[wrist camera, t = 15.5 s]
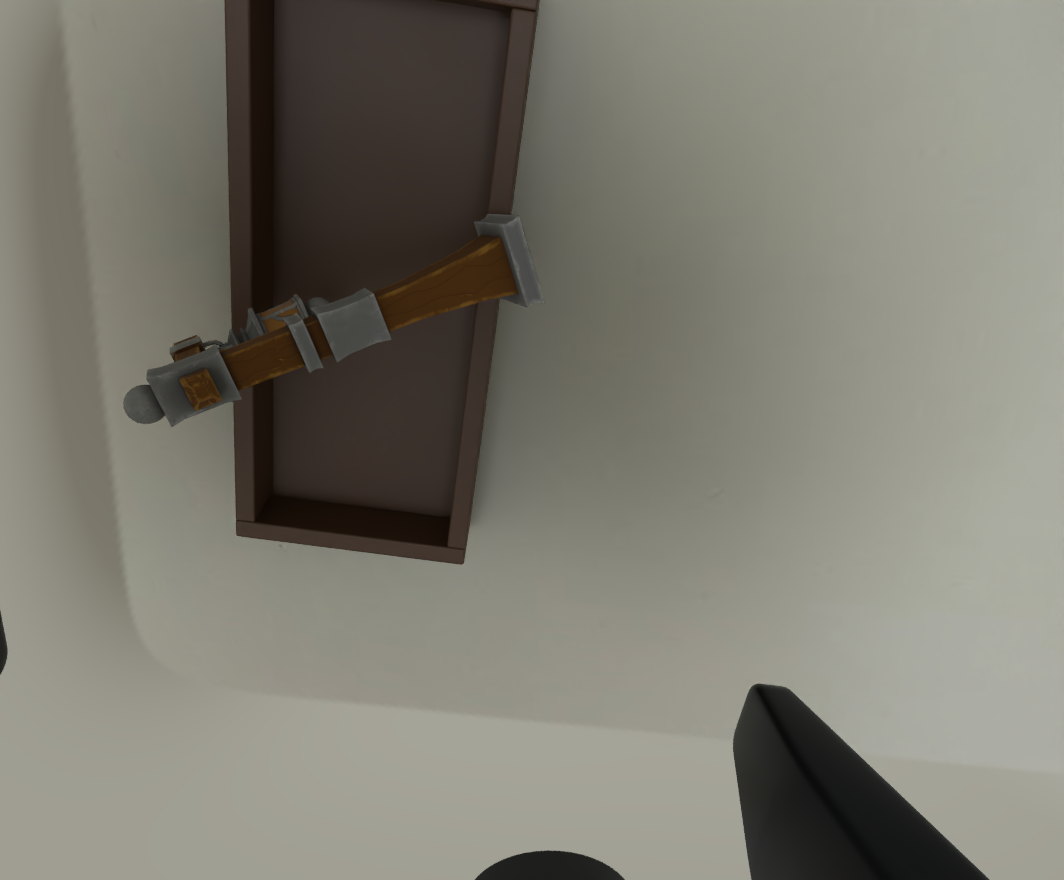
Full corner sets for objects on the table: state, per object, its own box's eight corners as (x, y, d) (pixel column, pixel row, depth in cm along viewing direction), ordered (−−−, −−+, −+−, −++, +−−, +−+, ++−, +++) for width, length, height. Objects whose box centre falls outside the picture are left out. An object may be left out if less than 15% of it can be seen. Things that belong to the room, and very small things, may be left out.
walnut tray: (469, 525, 22) (463, 565, 20) (261, 498, 21) (235, 536, 20) (540, -7, 16) (541, -19, 14) (257, -56, 16) (221, -75, 14)
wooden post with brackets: (119, 332, 16) (93, 376, 12) (453, 210, 18) (523, 215, 14) (160, 406, 17) (147, 470, 13) (476, 281, 19) (549, 304, 15)
